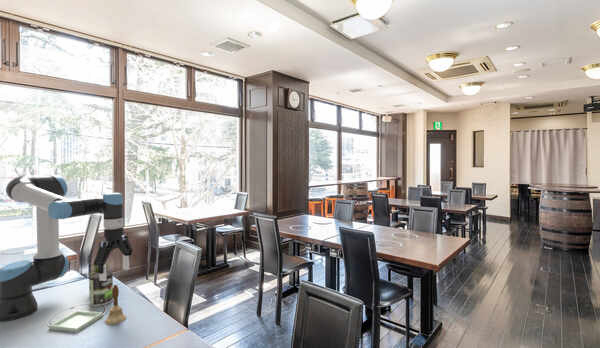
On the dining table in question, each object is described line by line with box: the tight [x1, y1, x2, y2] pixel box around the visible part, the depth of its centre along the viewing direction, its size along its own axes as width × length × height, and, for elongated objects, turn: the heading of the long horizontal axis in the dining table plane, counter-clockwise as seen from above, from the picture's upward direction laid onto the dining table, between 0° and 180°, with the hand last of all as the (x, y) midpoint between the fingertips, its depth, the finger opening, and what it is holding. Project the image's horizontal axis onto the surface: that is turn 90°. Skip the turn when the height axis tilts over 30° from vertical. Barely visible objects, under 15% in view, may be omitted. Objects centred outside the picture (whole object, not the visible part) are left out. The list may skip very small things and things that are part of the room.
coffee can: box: [88, 270, 114, 307], centre depth 155 cm, size 10×10×14 cm
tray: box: [48, 309, 104, 334], centre depth 134 cm, size 14×14×2 cm
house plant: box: [84, 262, 113, 280], centre depth 168 cm, size 14×14×16 cm
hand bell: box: [104, 284, 127, 326], centre depth 136 cm, size 8×8×16 cm
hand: (115, 274), depth 136 cm, fingers open, 13 cm apart
